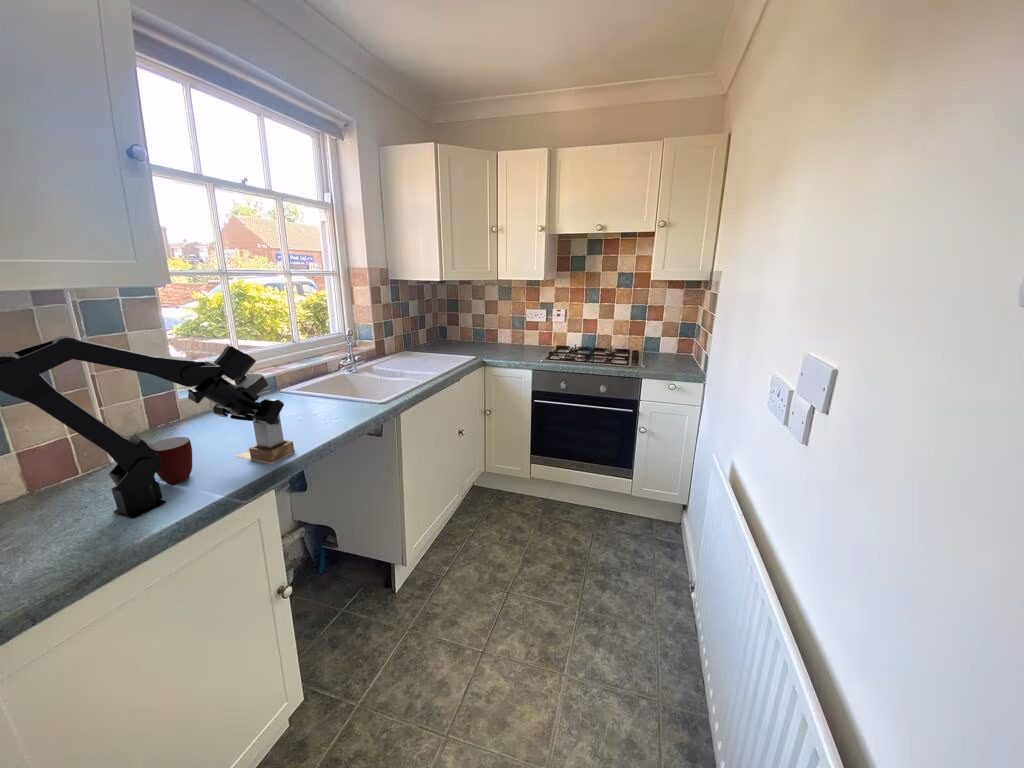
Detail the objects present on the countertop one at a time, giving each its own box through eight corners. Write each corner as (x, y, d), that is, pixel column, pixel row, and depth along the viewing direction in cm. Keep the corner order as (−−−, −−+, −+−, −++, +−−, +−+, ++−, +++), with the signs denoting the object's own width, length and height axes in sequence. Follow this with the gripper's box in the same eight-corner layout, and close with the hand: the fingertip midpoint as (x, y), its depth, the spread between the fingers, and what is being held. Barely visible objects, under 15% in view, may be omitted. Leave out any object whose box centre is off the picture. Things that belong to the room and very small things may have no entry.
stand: (271, 465, 108) (269, 453, 107) (235, 458, 112) (232, 446, 111) (297, 452, 115) (295, 440, 114) (262, 446, 119) (260, 434, 118)
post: (269, 448, 109) (263, 409, 106) (257, 446, 110) (250, 407, 107) (283, 441, 113) (277, 404, 110) (271, 439, 114) (265, 402, 111)
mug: (146, 481, 100) (136, 443, 97) (185, 467, 107) (176, 432, 104) (165, 493, 95) (154, 454, 92) (204, 478, 101) (196, 441, 98)
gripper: (271, 369, 99) (312, 399, 112) (215, 363, 105) (260, 392, 118) (247, 410, 94) (293, 436, 107) (190, 401, 100) (240, 427, 113)
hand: (271, 421), depth 111 cm, fingers closed on post, 4 cm apart
